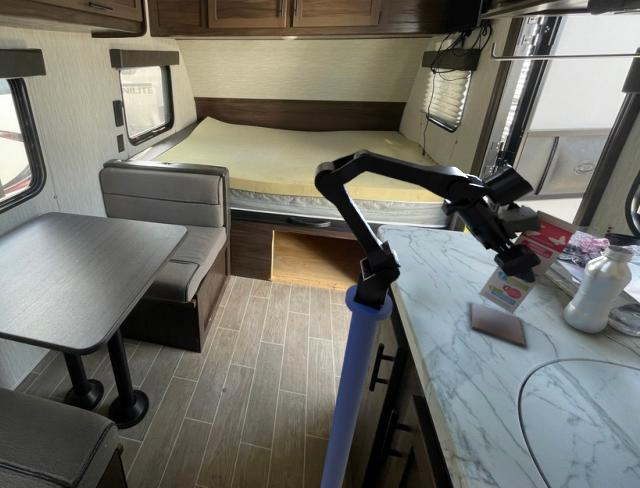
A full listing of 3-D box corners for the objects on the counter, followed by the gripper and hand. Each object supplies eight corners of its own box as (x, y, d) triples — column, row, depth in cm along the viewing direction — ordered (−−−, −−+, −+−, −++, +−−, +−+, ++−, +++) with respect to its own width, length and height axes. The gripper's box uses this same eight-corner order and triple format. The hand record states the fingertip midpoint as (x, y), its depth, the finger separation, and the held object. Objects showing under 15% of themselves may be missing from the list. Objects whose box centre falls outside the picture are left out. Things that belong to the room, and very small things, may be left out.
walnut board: (471, 328, 71) (472, 326, 71) (470, 304, 78) (471, 302, 78) (523, 347, 66) (525, 344, 66) (517, 320, 73) (519, 317, 73)
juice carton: (486, 283, 78) (540, 206, 68) (518, 302, 74) (581, 223, 64) (478, 293, 74) (534, 213, 64) (512, 313, 70) (578, 231, 60)
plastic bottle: (610, 339, 69) (656, 260, 61) (574, 335, 69) (615, 257, 62) (585, 317, 74) (624, 243, 67) (552, 313, 75) (587, 240, 68)
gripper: (548, 216, 56) (595, 278, 58) (496, 180, 73) (534, 229, 75) (483, 247, 61) (529, 304, 63) (449, 206, 78) (486, 252, 80)
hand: (520, 268), depth 70 cm, fingers open, 9 cm apart
